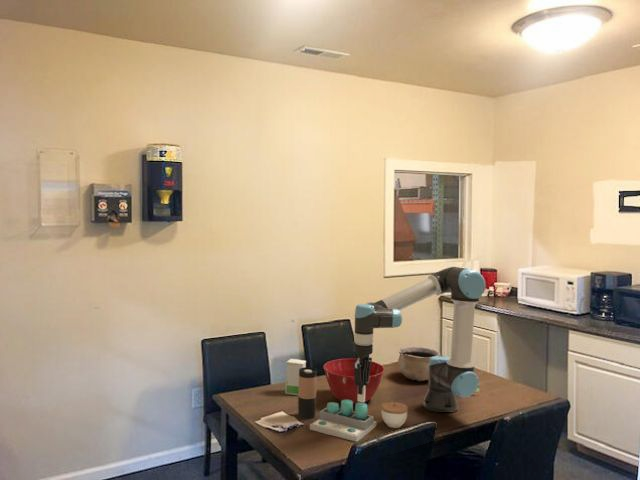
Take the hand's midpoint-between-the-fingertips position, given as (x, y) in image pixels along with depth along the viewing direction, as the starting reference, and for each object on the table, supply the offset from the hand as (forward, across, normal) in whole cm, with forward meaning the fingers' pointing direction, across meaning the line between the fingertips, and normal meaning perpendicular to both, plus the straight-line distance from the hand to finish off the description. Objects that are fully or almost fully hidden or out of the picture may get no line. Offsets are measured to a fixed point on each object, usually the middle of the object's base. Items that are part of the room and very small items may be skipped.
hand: (361, 401), depth 214 cm
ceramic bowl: (+12, -78, -3) cm, 79 cm away
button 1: (+6, 0, 0) cm, 6 cm away
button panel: (+12, +2, -6) cm, 13 cm away
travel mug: (+12, 0, -25) cm, 28 cm away
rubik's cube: (+12, -70, +27) cm, 76 cm away
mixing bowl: (+12, -30, -18) cm, 37 cm away
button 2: (+6, 0, -6) cm, 9 cm away
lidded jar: (+12, -12, +10) cm, 19 cm away
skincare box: (+12, -22, -45) cm, 52 cm away
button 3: (+9, 0, -13) cm, 16 cm away
